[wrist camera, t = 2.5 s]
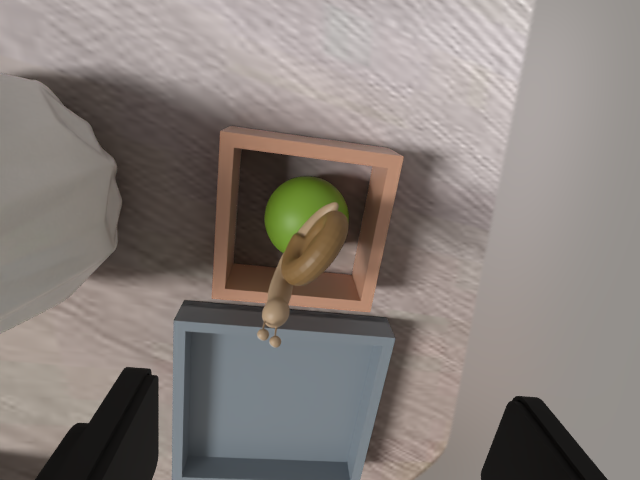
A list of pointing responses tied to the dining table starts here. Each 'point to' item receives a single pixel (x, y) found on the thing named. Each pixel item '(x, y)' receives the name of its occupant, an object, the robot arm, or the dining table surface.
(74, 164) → the vase
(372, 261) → the open box
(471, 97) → the dining table surface
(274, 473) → the tray
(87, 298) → the dining table surface
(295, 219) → the snail figurine
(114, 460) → the robot arm
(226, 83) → the dining table surface
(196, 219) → the dining table surface
